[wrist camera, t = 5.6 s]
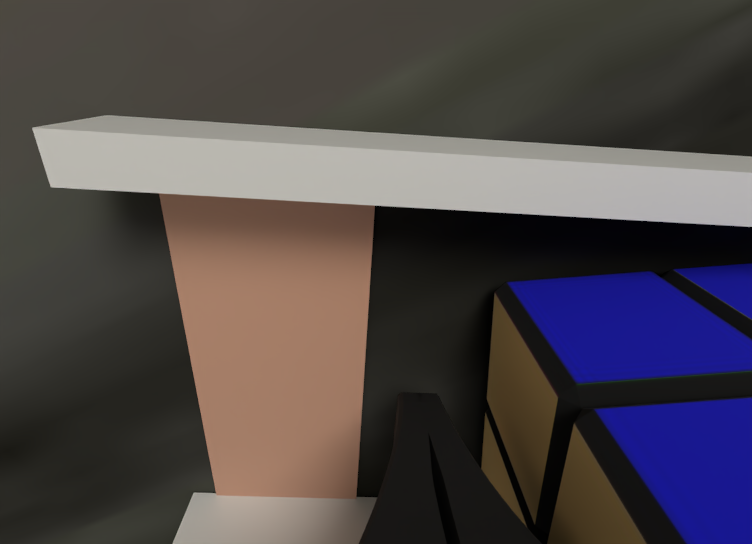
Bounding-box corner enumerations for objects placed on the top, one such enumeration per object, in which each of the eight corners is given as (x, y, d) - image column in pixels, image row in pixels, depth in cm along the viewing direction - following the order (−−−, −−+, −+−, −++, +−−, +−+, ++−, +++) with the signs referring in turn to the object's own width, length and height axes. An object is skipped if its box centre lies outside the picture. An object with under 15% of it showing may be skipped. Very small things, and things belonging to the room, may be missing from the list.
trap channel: (862, 526, 19) (928, 587, 17) (197, 509, 18) (172, 573, 15) (1217, 186, 11) (1423, 215, 9) (106, 115, 10) (32, 127, 8)
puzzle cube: (819, 251, 12) (2131, 771, 3) (714, 469, 17) (1124, 932, 8) (491, 277, 12) (854, 856, 3) (476, 486, 17) (608, 966, 8)
